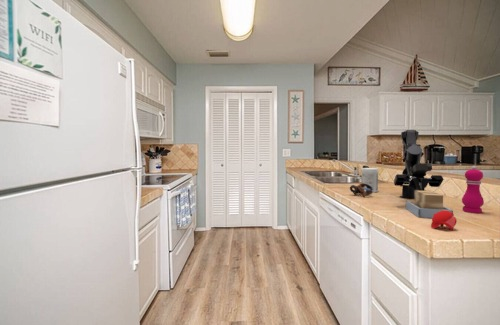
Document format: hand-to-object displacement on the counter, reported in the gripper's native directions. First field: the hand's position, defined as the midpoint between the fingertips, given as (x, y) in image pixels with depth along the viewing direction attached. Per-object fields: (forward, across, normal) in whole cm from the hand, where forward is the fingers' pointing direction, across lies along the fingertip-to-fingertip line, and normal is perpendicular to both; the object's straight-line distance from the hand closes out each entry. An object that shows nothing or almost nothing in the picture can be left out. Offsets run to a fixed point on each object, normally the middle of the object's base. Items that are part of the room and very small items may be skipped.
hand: (422, 195), depth 114 cm
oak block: (+9, 0, 0) cm, 9 cm away
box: (+9, 0, 0) cm, 9 cm away
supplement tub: (-29, -13, +39) cm, 50 cm away
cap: (+24, -3, -14) cm, 28 cm away
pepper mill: (+3, +20, +7) cm, 21 cm away
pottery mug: (-17, -20, +27) cm, 38 cm away
